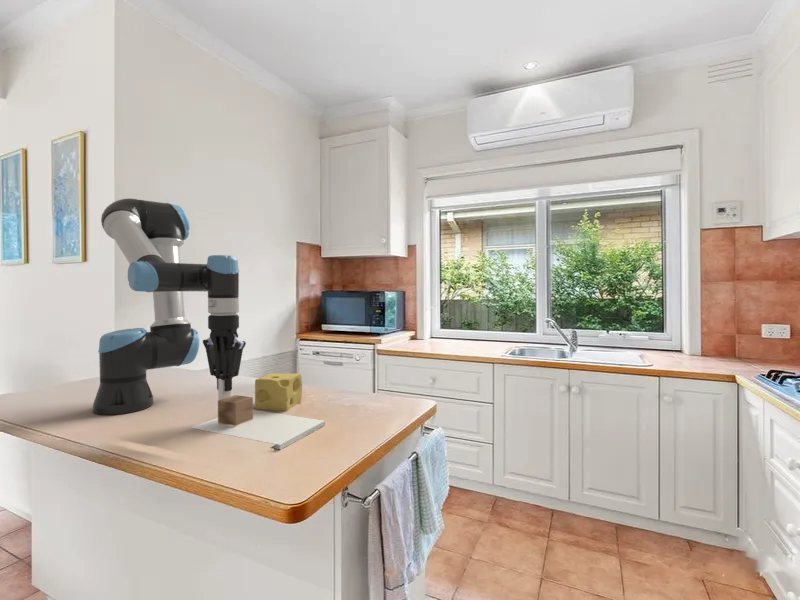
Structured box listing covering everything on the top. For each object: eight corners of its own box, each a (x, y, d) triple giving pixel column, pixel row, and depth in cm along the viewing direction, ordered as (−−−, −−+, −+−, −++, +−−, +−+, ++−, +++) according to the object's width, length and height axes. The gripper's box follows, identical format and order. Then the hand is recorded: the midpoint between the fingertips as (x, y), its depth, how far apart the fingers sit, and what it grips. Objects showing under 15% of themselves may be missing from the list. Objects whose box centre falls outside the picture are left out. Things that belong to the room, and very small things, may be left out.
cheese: (287, 415, 119) (286, 380, 118) (252, 413, 121) (252, 378, 120) (302, 405, 129) (302, 373, 128) (270, 403, 131) (270, 371, 131)
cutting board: (190, 432, 105) (190, 427, 105) (243, 412, 121) (243, 408, 121) (280, 450, 94) (280, 444, 94) (324, 425, 110) (324, 420, 110)
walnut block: (218, 423, 108) (217, 400, 107) (235, 416, 113) (235, 395, 113) (235, 426, 105) (235, 403, 105) (252, 419, 111) (252, 397, 110)
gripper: (193, 314, 109) (194, 403, 110) (231, 315, 104) (232, 409, 104) (216, 312, 116) (217, 396, 116) (253, 314, 110) (253, 401, 111)
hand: (224, 402), depth 110 cm, fingers closed
